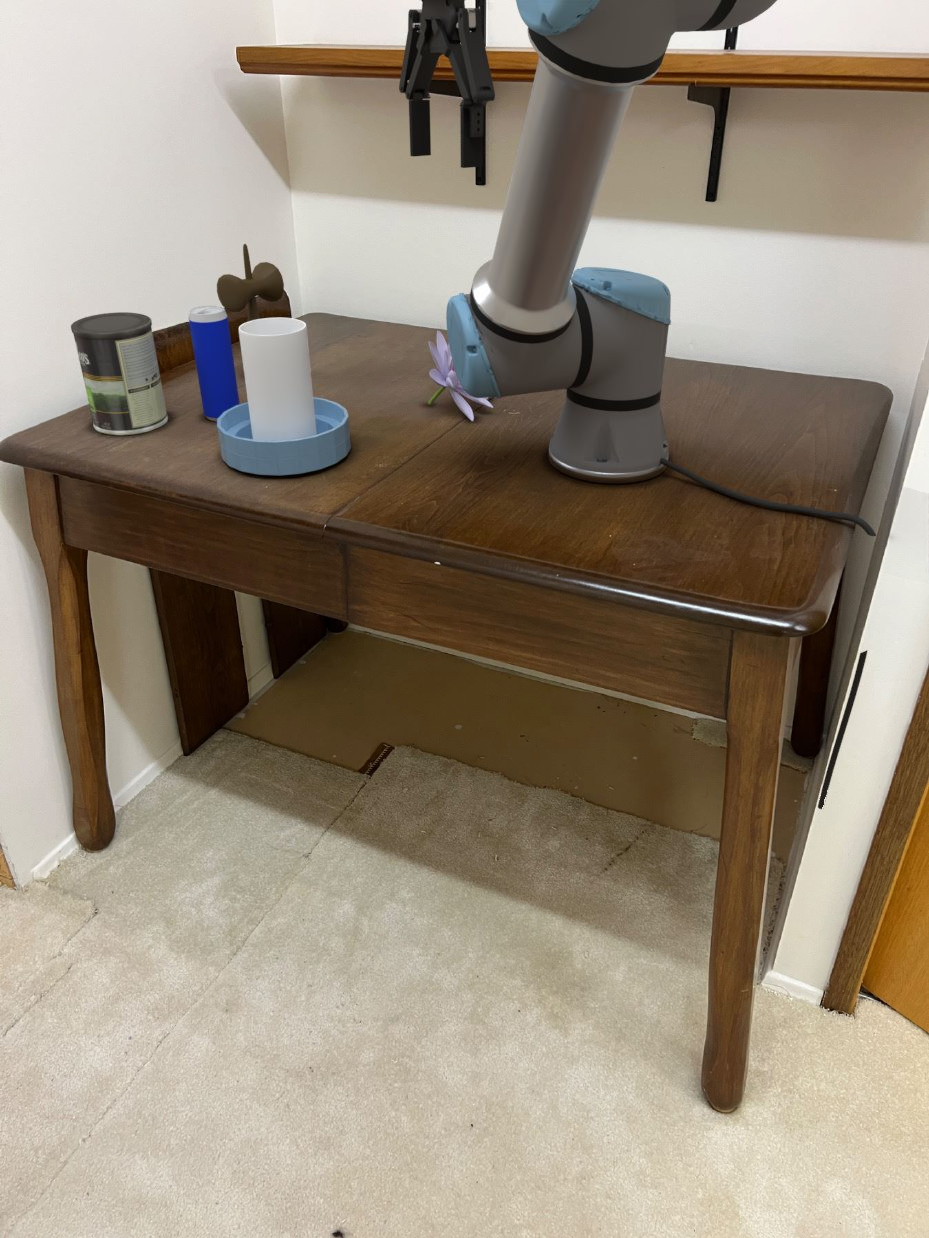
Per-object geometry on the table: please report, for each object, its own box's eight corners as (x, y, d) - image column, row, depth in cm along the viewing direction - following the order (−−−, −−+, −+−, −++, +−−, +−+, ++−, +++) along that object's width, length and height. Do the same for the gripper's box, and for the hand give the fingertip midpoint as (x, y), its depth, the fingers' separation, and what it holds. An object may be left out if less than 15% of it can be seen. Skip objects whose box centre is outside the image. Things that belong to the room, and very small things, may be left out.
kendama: (294, 370, 153) (281, 240, 142) (254, 386, 146) (237, 251, 135) (266, 364, 156) (251, 236, 145) (226, 380, 149) (207, 247, 138)
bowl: (371, 463, 121) (369, 425, 118) (246, 490, 114) (241, 451, 111) (321, 422, 133) (318, 388, 130) (206, 445, 126) (200, 409, 123)
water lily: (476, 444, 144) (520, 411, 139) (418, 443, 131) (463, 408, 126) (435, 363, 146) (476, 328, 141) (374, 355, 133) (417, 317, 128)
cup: (312, 462, 119) (300, 335, 111) (248, 461, 120) (231, 335, 111) (322, 438, 126) (311, 317, 118) (261, 437, 126) (246, 317, 118)
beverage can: (222, 407, 138) (206, 303, 130) (248, 413, 136) (234, 308, 128) (196, 418, 134) (179, 311, 126) (223, 425, 132) (207, 317, 124)
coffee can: (95, 440, 127) (71, 336, 120) (92, 415, 136) (69, 316, 128) (172, 430, 130) (154, 328, 123) (165, 406, 139) (147, 309, 131)
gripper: (528, -46, 102) (522, 170, 113) (421, -35, 120) (425, 150, 131) (468, -48, 98) (468, 174, 110) (368, -36, 117) (377, 153, 128)
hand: (445, 161), depth 121 cm, fingers open, 13 cm apart
